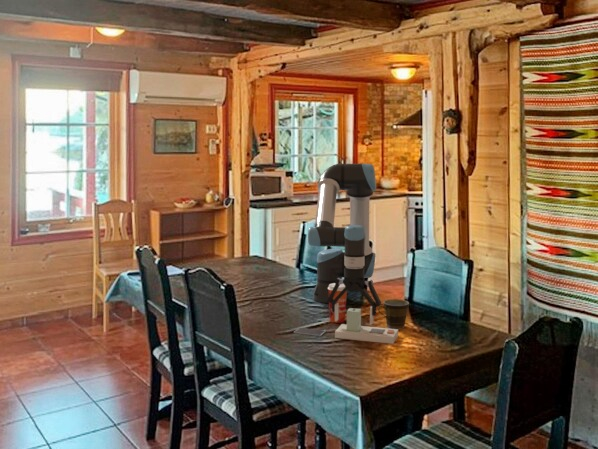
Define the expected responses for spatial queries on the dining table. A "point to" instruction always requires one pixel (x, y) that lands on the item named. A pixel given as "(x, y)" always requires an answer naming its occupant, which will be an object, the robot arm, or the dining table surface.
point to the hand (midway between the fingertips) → (353, 322)
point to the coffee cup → (341, 303)
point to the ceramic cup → (395, 313)
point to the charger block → (354, 320)
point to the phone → (309, 331)
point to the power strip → (368, 334)
